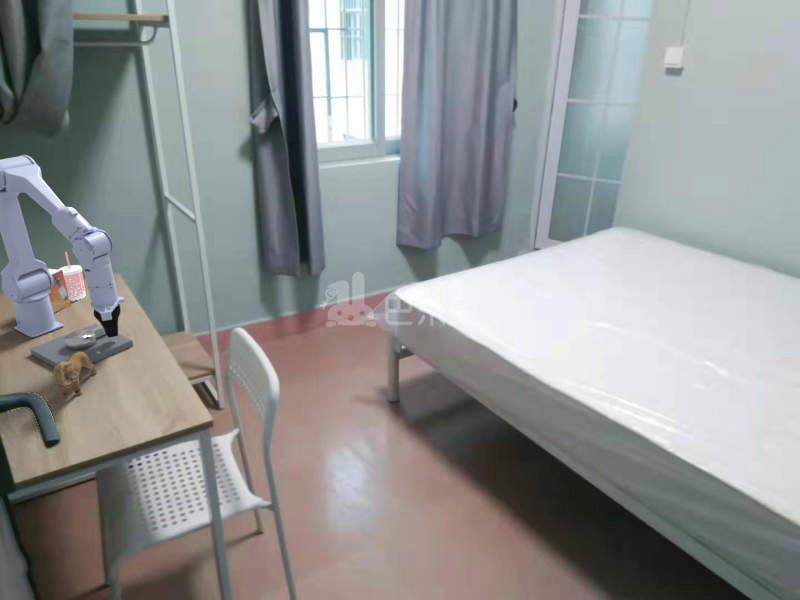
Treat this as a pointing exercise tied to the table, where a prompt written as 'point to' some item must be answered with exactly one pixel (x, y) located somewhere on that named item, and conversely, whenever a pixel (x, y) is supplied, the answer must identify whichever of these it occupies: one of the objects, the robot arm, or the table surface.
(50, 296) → the small box
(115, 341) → the dial board
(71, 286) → the beverage cup
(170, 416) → the table surface
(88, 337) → the dial
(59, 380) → the lion figurine
